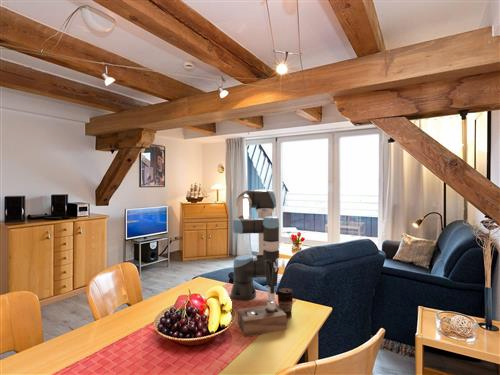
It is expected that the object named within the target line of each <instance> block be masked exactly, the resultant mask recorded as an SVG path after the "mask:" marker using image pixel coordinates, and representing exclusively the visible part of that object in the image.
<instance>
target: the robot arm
mask: <svg viewBox="0 0 500 375" xmlns="http://www.w3.org/2000/svg"><path fill="white" fill-rule="evenodd" d="M235 204H236V207H237V213H236V216H237V217H236V218H233V220H232V232H233V234H240V235H242V234H243V235H245V234H258V252H257V253H256V254H255V255H256V257H254V256H253V255H251V254H243V255H239V256H236V257H235V258H234V259H233V266H232V267H233V284H232V288H231V290H230V296H231V298H232V299H235V300H236V301H237V300H238V301H249V300H252V299H255V297H256V296H257V290H256V288H255V287H256V286H255V285H254V279H265V282H266V284H267V288H268V289H267V297H268V298H267V299H268V301H269V300H274V301H275V299H276V297H275V295H276V294H275V293H276V292H275V291H276V290H275V289H276V288H275V287H277V285H278V277H279V275H278V274H279V272H280V271H279V270H280V269H279V268H280V267H279V258H280V218H279V217H278V216H275V215H273V214H272V213H273V212H274V211H275V209H276V207H277V199H276V194H275V191H274V190H273V189H247V190H245V191H242V193H240V194H239V195H238V196H237V198H236V202H235ZM251 208H252V209H255V212H256V213H257V218H255V217H254V218H253V217H252V211H251Z"/></svg>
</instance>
